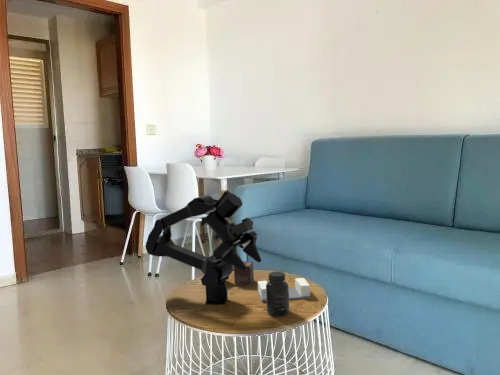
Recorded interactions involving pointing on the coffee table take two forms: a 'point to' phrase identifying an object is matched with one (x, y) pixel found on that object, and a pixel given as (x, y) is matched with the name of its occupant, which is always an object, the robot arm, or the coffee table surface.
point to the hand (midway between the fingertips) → (253, 265)
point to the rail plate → (294, 293)
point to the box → (244, 275)
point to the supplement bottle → (277, 294)
